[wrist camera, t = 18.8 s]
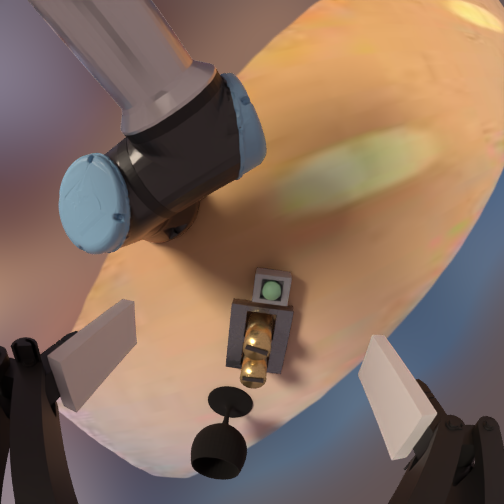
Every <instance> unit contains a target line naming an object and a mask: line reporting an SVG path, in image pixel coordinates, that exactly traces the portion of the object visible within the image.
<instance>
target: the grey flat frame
mask: <svg viewBox="0 0 504 504" xmlns="http://www.w3.org/2000/svg"><path fill="white" fill-rule="evenodd" d="M247 311H252V312H259V313H267V314H274V315H276V318H275V324H274V330H273V334H272V337H271V352H270V354H269V358H268V361H267V371H266V372H269V373H278V374H281V370H282V366H283V361H284V357H285V352H286V347H287V342H288V338H289V333H290V328H291V323H292V318H293V312H294V311H293V306H281V305H273V304H266V303H258V302H252V301H248V300H241V299H235V298H234V299H233V302H232V308H231V318H230V327H229V338H228V348H227V358H226V367H232V368H239V369H242V364H243V358H242V351H243V343H244V340H245V336H246V331H245V327H246V319H247Z"/></svg>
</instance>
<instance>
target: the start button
mask: <svg viewBox="0 0 504 504" xmlns="http://www.w3.org/2000/svg"><path fill="white" fill-rule="evenodd" d="M262 293H263V296H264V297H265V298H266V299H268V300H276V299H277V298H278V297H279V296H280V294H281V287H280V284H279V283H278V282H277V281H276V280H268V281H266V282H265V283H264V285H263V291H262Z"/></svg>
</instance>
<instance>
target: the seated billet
mask: <svg viewBox="0 0 504 504" xmlns="http://www.w3.org/2000/svg"><path fill="white" fill-rule="evenodd" d="M271 337H272V317H271V315H270V314H267V313H259V312H253V313H252V314H251V315H250V318H249V322H248V326H247V331H246V336H245V340H244V345H243V352H244V354H245V355H246V356H247V357H248V358H250V359H252V360H263V359H265V358H267V357H268V356H269V354H270V352H271Z"/></svg>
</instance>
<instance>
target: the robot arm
mask: <svg viewBox="0 0 504 504" xmlns="http://www.w3.org/2000/svg"><path fill="white" fill-rule="evenodd" d="M28 1H29V2H30V3H31V5H32V6H33V7H34V8H35V9H36V11H37V12H38V13H39V14H40V15H41V16H42V18H43V19H44V20H45V21H46V22H47V23H48V25H49V26H50V27H51V28H52V29H53V30H54V31H55V33H56V34H57V35H58V36H59V37H60V39H61V40H62V41H63V42H64V43H65V44H66V45H67V47H68V48H69V49H70V50H71V51H72V52H73V53H74V54H75V56H76V57H77V58H78V59H79V60H80V62H81V63H82V64H83V65H84V66H85V67H86V69H87V70H88V71H89V72H90V73H91V74H92V75H93V77H94V78H95V79H96V80H97V81H98V82H99V83H100V85H101V86H102V87H103V88H104V89H105V90H106V92H108V94H109V95H110V96H111V97H112V98H113V99H114V101H115V102H116V103H117V104H118V105H119V106H120V108H121V109H122V119H121V131H122V133H123V134H124V135H125V136H126V138H124V139H123V140H122V141H121V142H119V143H118V144H117V145H116V146H114V147H113V148H112V149H111V150H109V151H108V152H107V153H106V154H104V155H103V154H100V153H92V154H89V155H85V156H82V157H80V158H78V159H77V160H76V161H75V162H73V163H72V165H71V166H70V167H69V168H68V170H67V171H66V173H65V175H64V177H63V180H62V183H61V187H60V199H59V213H60V218H61V222H62V225H63V227H64V230H65V232H66V234H67V235H68V237H69V238H70V240H71V241H72V242H73V243H74V244H75V245H76V246H77V247H78V248H79V249H81V250H84V251H86V252H87V253H90V254H102V253H111V252H115V251H117V250H118V249H119V248H121V247H124V246H127V245H129V244H132V243H135V242H137V241H140V240H146V241H149V242H157V243H159V242H166V241H170V240H172V239H174V238H177V237H179V236H180V235H182V234H183V233H184V232H186V231H187V230H188V229H189V227H190V226H191V225H192V223H193V222H194V220H195V218H196V215H197V212H198V208H199V200H201V199H202V198H204V197H206V196H207V195H209V194H211V193H212V192H214V191H216V190H218V189H219V188H221V187H223V186H225V185H226V184H228V183H230V182H232V181H234V180H238V179H240V178H241V177H242V176H243V174H245V173H246V172H248V171H250V170H251V169H253V168H255V167H256V166H258V165H260V164H261V163H262V161H263V159H264V158H265V156H266V141H265V137H264V133H263V129H262V126H261V123H260V121H259V118H258V115H257V113H256V111H255V108H254V106H253V104H252V103H251V102H250V99H249V97H248V94H247V92H246V90H245V88H244V86H243V85H242V83H241V82H240V80H239V79H238V78H237V77H236V76H235V75H234V74H233V73H227V74H226V73H223V74H221V75H220V74H219V73H218V71H217V69H216V68H215V66H214V65H212V64H210V63H205V62H200V61H195V60H193V59H192V58H191V57H190V55H189V53H188V52H187V51H186V49H185V47H184V46H183V44H182V43H181V41H180V40H179V39H178V37H177V36H176V34H175V33H174V31H173V30H172V28H171V27H170V26H169V24H168V23H167V21H166V20H165V18H164V17H163V15H162V14H161V13H160V11H159V10H158V8H157V7H156V6H155V4H154V3H153V2H152V0H28ZM136 344H137V340H136V326H135V307H134V301H130V300H125V299H122V300H121V301H119V302H118V303H116V304H115V305H114V306H112V307H111V308H110V309H108V310H107V311H106V312H104V313H103V314H101V315H100V316H99V317H97V318H96V319H95V320H93V321H92V322H91V323H89V324H88V325H87V326H85V327H84V328H83V329H81V330H80V331H79V332H77V331H75V332H72V333H69V334H67V335H66V336H64V337H63V338H62V339H61V340H59V341H58V342H56V344H54V345H52V346H51V347H50V348H48V349H47V350H46V351H44V352H43V353H42V354H40V352H39V349H38V345H37V342H36V341H35V340H34V339H32V338H27V337H25V338H20V339H17V340H15V341H14V342H13V343H12V345H11V348H12V351H13V354H14V357H15V359H13V358H9V357H8V354H7V351H6V349H5V348H4V347H2V346H0V504H1V496H2V487H3V480H4V473H5V468H6V462H7V457H8V453H9V448H10V463H11V475H12V484H13V491H14V497H15V504H78V501H77V498H76V495H75V492H74V488H73V485H72V481H71V477H70V474H69V469H68V465H67V461H66V456H65V451H64V446H63V440H62V434H61V427H60V421H59V411H58V405H57V402H56V400H57V399H58V398H59V397H61V400H62V402H63V405H64V406H65V407H67V408H69V409H71V410H73V411H75V412H78V411H79V409H80V408H81V407H82V406H83V405H84V403H85V402H86V401H87V400H88V399H89V398H90V396H91V395H92V394H93V393H94V392H95V391H96V389H97V388H98V387H99V386H100V385H101V384H102V382H103V381H104V380H105V379H106V378H107V377H108V376H109V374H110V373H111V372H112V371H113V370H114V369H115V368H116V366H117V365H118V364H119V363H120V362H121V361H122V360H123V358H124V357H125V356H126V355H127V354H128V353H129V352H130V350H131V349H132V348H133V347H134V346H135V345H136ZM358 376H359V378H360V381H361V383H362V386H363V388H364V390H365V393H366V395H367V398H368V400H369V403H370V405H371V408H372V410H373V412H374V415H375V417H376V420H377V423H378V425H379V428H380V430H381V433H382V436H383V438H384V441H385V444H386V446H387V449H388V452H389V455H390V457H391V460H395V459H401V458H406V457H407V456H408V455H409V453H410V452H411V451H412V449H413V450H414V452H415V454H416V455H415V456H414V457H413V459H412V460H411V461H410V462H409V463H408V465H407V466H406V467H405V468H404V470H406V469H407V470H406V472H405V475H404V476H403V478H402V480H401V482H400V484H399V486H398V487H397V489H396V491H395V493H394V494H393V496H392V498H391V499H390V501H389V503H388V504H504V446H503V441H502V437H501V432H500V428H499V425H498V423H497V422H496V421H495V419H493V418H491V417H488V416H483V417H481V418H480V419H479V420H478V422H477V423H476V425H465V424H464V422H463V421H462V420H461V419H460V418H458V417H456V416H454V415H447V414H446V413H445V411H444V410H443V408H442V407H441V405H440V404H439V402H438V401H437V400H436V398H434V395H433V394H432V393H431V391H430V389H429V388H428V386H427V385H426V384H425V383H423V382H422V381H421V380H419V379H416V380H415V378H414V377H413V375H412V374H411V373H410V371H409V370H408V368H407V367H406V365H405V364H404V362H402V360H401V358H400V357H399V356H398V354H397V353H396V351H395V350H394V348H393V347H392V346H391V344H390V343H389V341H388V340H387V339H386V337H385V336H384V335H372V336H371V340H370V343H369V346H368V349H367V351H366V354H365V357H364V360H363V363H362V366H361V368H360V371H359V374H358ZM474 461H475V464H474Z"/></svg>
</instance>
